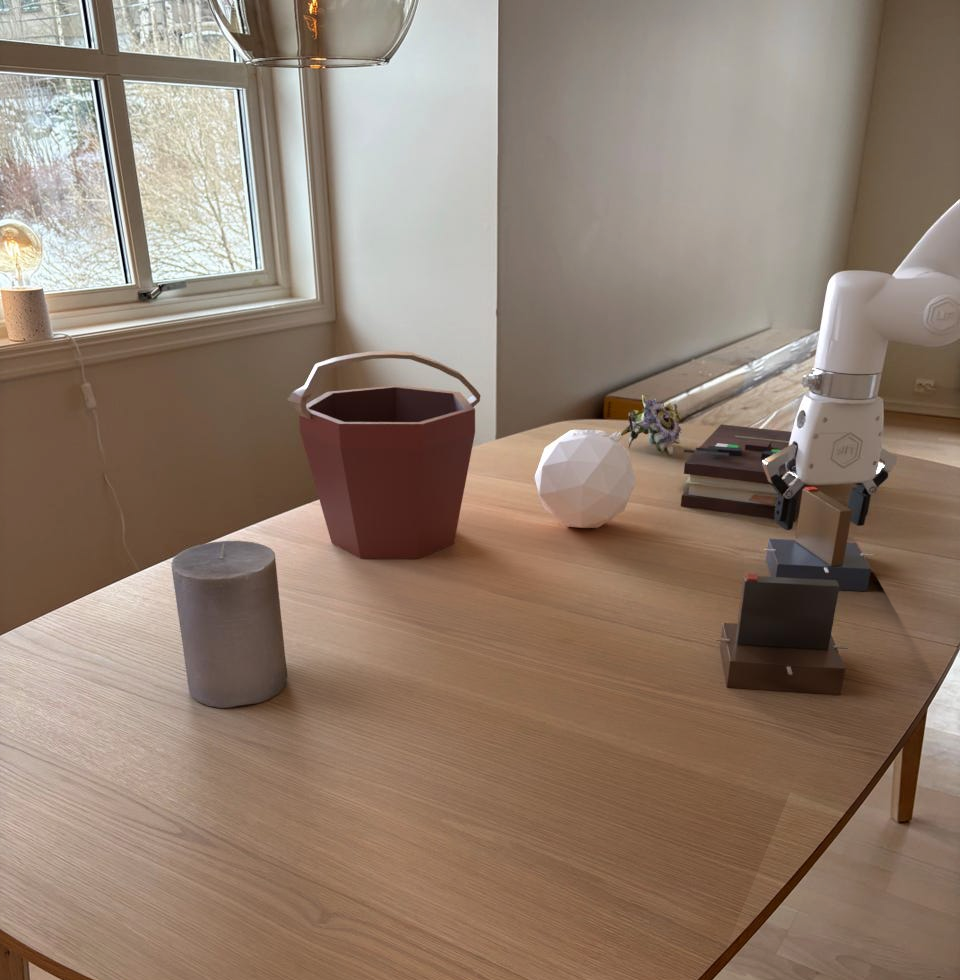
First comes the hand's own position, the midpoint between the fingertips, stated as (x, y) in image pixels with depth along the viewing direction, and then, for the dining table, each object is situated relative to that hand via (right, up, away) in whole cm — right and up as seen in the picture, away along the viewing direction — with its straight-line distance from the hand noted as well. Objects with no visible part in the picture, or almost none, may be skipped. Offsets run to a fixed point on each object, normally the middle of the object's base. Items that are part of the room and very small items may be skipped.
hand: (819, 524), depth 122 cm
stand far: (0, -6, +3) cm, 7 cm away
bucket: (-54, 0, +15) cm, 56 cm away
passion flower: (-12, +20, +55) cm, 60 cm away
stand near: (-11, -17, -20) cm, 29 cm away
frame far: (0, -3, +2) cm, 4 cm away
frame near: (-11, -15, -21) cm, 28 cm away
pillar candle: (-66, -19, -23) cm, 73 cm away
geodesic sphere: (-27, +2, +20) cm, 34 cm away
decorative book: (+1, +9, +35) cm, 36 cm away
